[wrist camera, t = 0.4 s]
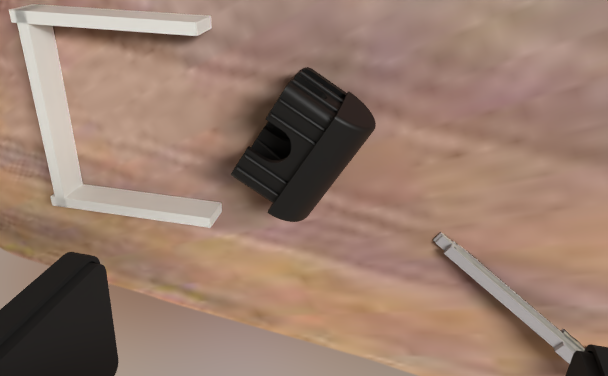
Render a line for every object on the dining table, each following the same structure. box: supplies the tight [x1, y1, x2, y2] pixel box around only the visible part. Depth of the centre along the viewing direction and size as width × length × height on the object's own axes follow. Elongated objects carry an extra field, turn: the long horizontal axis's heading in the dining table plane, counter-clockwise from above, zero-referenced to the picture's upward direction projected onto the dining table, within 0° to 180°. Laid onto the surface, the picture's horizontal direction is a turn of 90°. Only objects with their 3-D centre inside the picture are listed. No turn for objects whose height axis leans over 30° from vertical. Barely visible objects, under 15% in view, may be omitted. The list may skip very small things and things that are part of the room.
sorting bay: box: [9, 4, 222, 228], centre depth 47 cm, size 18×16×3 cm
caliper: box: [433, 232, 585, 364], centre depth 46 cm, size 20×1×6 cm, turn 56°
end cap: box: [231, 67, 376, 222], centre depth 43 cm, size 10×7×7 cm
